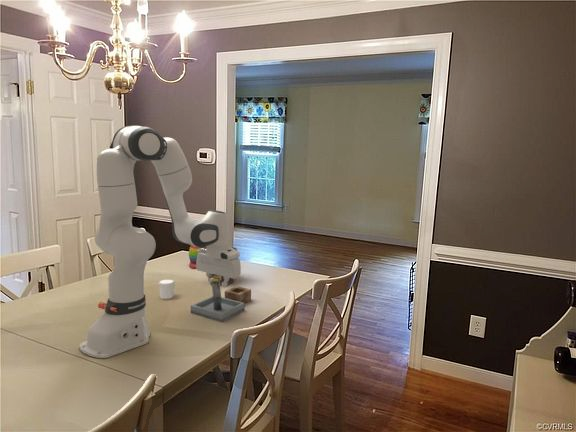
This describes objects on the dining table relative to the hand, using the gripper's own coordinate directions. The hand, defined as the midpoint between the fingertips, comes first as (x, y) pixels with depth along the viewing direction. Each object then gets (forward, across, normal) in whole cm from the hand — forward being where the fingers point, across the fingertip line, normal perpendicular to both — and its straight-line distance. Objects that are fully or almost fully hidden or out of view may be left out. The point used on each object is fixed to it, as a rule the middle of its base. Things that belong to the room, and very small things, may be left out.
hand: (217, 284), depth 162 cm
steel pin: (+10, 0, 0) cm, 10 cm away
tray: (+11, 0, 0) cm, 11 cm away
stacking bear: (+11, -51, +43) cm, 68 cm away
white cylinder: (+11, -29, 0) cm, 31 cm away
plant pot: (+11, -23, +29) cm, 39 cm away
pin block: (+11, 0, +13) cm, 17 cm away
